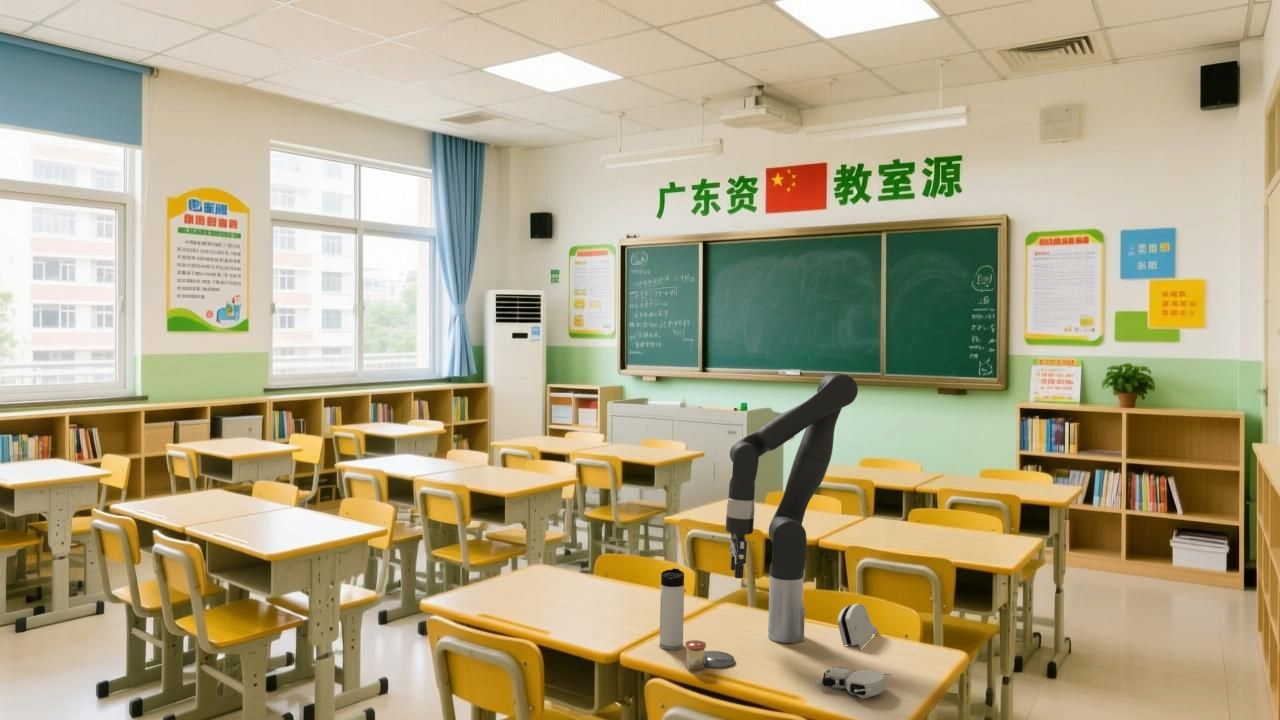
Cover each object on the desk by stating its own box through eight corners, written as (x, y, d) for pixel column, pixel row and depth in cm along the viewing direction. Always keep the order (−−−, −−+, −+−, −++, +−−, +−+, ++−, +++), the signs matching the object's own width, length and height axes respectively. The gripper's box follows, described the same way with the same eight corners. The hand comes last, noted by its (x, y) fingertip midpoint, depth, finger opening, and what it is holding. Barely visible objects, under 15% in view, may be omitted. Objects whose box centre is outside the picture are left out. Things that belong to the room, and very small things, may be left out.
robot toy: (812, 694, 205) (873, 706, 196) (811, 675, 205) (872, 686, 196) (835, 679, 214) (894, 690, 205) (834, 660, 215) (893, 670, 205)
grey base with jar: (710, 651, 229) (711, 626, 229) (742, 660, 223) (742, 635, 223) (673, 666, 218) (673, 641, 218) (705, 677, 211) (705, 651, 211)
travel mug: (686, 643, 235) (687, 569, 234) (679, 651, 229) (680, 575, 228) (663, 640, 237) (665, 567, 236) (656, 648, 231) (657, 573, 230)
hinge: (861, 649, 233) (850, 612, 234) (845, 652, 235) (833, 615, 236) (878, 632, 247) (867, 597, 248) (862, 635, 249) (851, 600, 251)
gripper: (758, 520, 232) (754, 581, 232) (750, 511, 246) (746, 568, 246) (729, 519, 232) (726, 580, 232) (723, 509, 246) (719, 566, 246)
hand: (736, 574), depth 239 cm, fingers open, 8 cm apart
